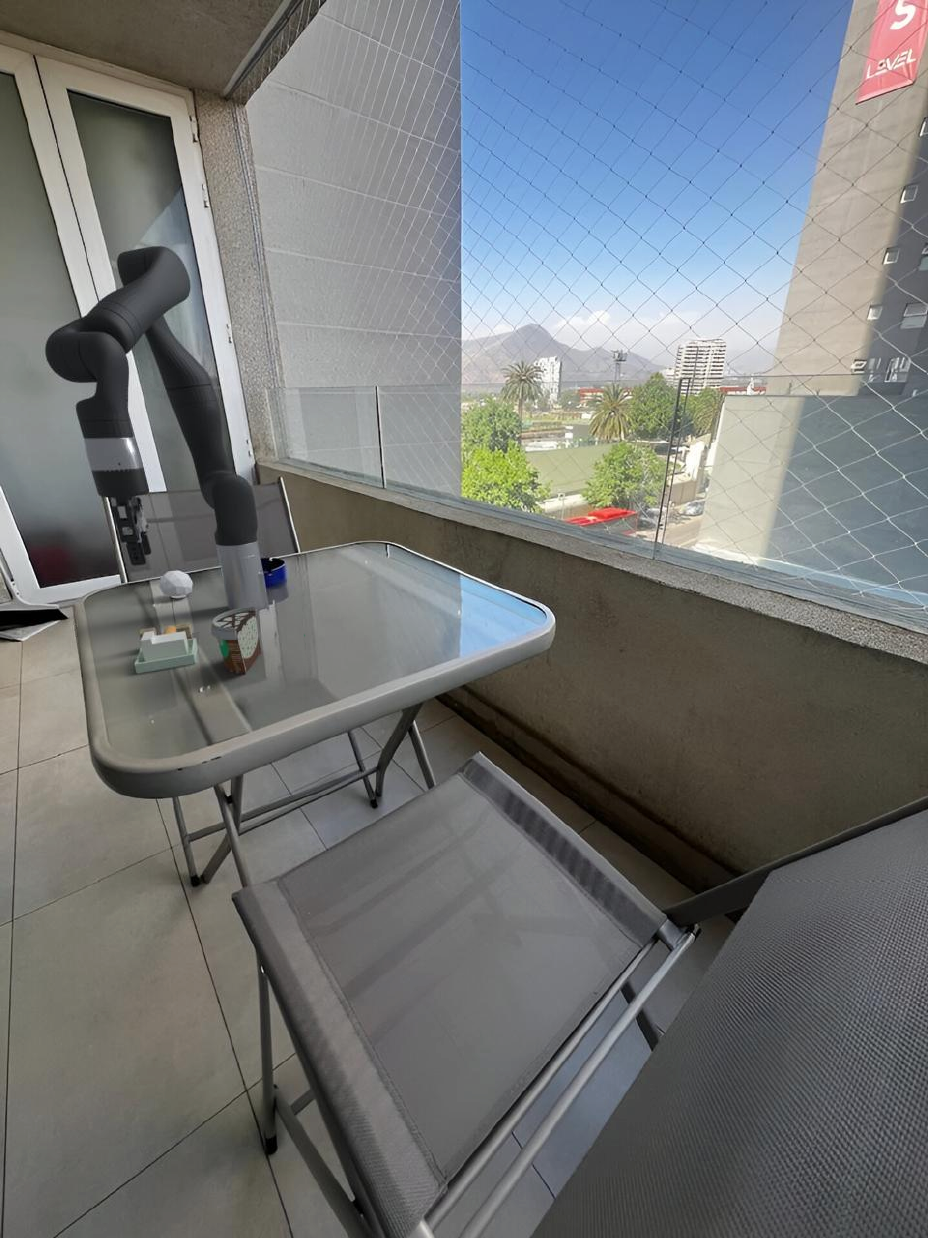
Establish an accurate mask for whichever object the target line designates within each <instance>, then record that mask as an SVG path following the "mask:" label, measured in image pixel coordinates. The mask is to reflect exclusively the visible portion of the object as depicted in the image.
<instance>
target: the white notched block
mask: <svg viewBox="0 0 928 1238" xmlns="http://www.w3.org/2000/svg"><path fill="white" fill-rule="evenodd" d="M140 643H141V645H140V649H141V648H142V652H143V655H144V659H145V662H148V661H154V660H159V659H165V658H171V657H177V656H183V655H189V645H188V641H187V637H186V633H185V631H183V632H176V633H170V634H164V633H163V634H157V636H155V634H154V631H151V632H144V634H143V637H142V639H140Z"/></svg>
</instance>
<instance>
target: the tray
mask: <svg viewBox="0 0 928 1238" xmlns="http://www.w3.org/2000/svg"><path fill="white" fill-rule="evenodd" d="M187 641H188V645H189V655H183V656H177V657H171V658H165V659H159V660H154V661H148V662H145V659H144V655H143V652H142V648H141V647H140V650H139V652H138V655H137V657H136V660H135V662H134V668H135V671H136V675H140V674H139V673H142V674H146V673H145V672H147V673H152V672H151V671H153V672H157V671H156V670H159V671H163V670H162V669H164V670H168V669H167V668H170V669H174V668H173V667H176V668H180V667H179V666H181V667H185V666H184V665H187V666H191V665H190V664H193V665H196V663H197V657H196V656H198V649H199V645H198V646H197V641H196V638H194V639H188V640H187ZM197 648H198V649H197Z"/></svg>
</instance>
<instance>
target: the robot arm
mask: <svg viewBox="0 0 928 1238" xmlns="http://www.w3.org/2000/svg"><path fill="white" fill-rule="evenodd" d="M116 259H117V260H116V267H117V272H118V275H119V279H120V282H121V284H122V287H120V288H118V289H115V290H113V291H112V292H110V293H109V294H107V295H105V296H104V297H102V298H101V299H100V300H99V301H98V302H97V303H96V304H95V305H94V306H93V307H92V308H91V309H90V310H89V311H88V312H87V314H86V315H85V316H81V317H79V318H77V319H74V320H73V321H71V322H68V323H67V324H65V325H62V326H60V327H59V328H58V329H55V330H54V331H53V332H52V333H51V334H50V335H49V337H48V338H47V340H46V342H45V349H44V350H45V351H44V352H45V353H44V354H45V359H46V361H47V363H48V365H49V367H50V368H51V369H52V371H53V372H54V373H55V374H56V375H57V376H59V377H60V378H62V379H63V380H65V381H67V382H72V383H77V384H86V383H87V384H88V383H89V384H90V383H91V384H93V383H96V387H95V392H94V394H93V395H92V396H91V397H87V398H85V399H82V400H79V401H78V402H77V403H76V404H75V412H76V416H77V420H78V423H79V428H80V430H81V433H82V436H83V439H84V444H85V445H84V447H85V454H86V458H87V462H88V465H89V468H90V472H91V475H92V479H93V482H94V485H95V488H96V493H97V494H98V495H97V496H100V497H101V498H107V499H108V498H113V499H114V500H115V505H113V506H112V508H111V512H112V513H113V516H114V520H115V523H116V527H117V531H118V535H119V541H120V542H121V543H123V544H124V545H125V547H126V550H127V554H128V556H129V561H130V564H131V566H134V567H135V566H143V565H145V564H147V559H146V556H149V555H151V554H152V548H151V544H150V540H149V537H148V533H149V530H148V529H149V525H148V522H147V518H146V515H145V509H144V505H143V503H142V498H140V497H139V496H144V495H147V494H149V493H150V487H149V484H148V480H147V475H146V471H145V467H144V465H143V464H144V463H143V460H142V459H143V458H142V455H141V452H140V449H139V446H138V444H137V442H136V441H137V440H136V438H135V435H134V432H133V431H134V430H133V428H132V423H131V418H130V416H129V415H130V414H129V382H130V380H129V379H130V364H129V360H128V357H127V354H128V353H130V352H131V351H132V350H133V348H134V347H135V346H136V345H137V343H138V342H139V341H140V339H142V337H143V336H145V338H146V340H147V342H148V344H149V345H148V346H149V348H150V350H151V352H152V356H153V357H154V361H155V363H156V365H157V369H158V372H159V374H160V378H161V380H162V383H163V387H164V389H165V391H166V394H167V397H168V399H169V403H170V405H171V408H172V411H173V413H174V415H175V417H176V420H177V422H178V425H179V428H180V431H181V434H182V436H183V438H184V440H185V442H186V445H187V447H188V449H189V452H190V456H191V459H192V461H193V466H194V467H195V468H194V469H195V473H196V477H197V480H198V484H199V488H200V492H201V495H202V497H203V500H204V501H205V503H206V504H207V506H209V507H210V508H211V509H213V510H214V517H215V521H216V522H215V523H216V530H215V531H214V542H215V546H216V547H215V548H216V550H217V551H216V552H217V556H218V561H219V566H220V571H221V575H222V581H223V586H224V590H225V595H226V601H227V607H228V611H231V610H235V609H239V608H245V607H256V609H257V612H258V611H259V612H260V611H262V610H264V609H266V610H270V606H269V605H270V604H269V599H268V594H267V588H266V582H265V575H264V571H263V566H262V560H261V555H260V547H259V542H258V536H257V535H258V534H257V533H258V527H259V524H258V522H259V521H258V516H257V506H256V500H255V499H256V498H255V496H254V491H253V489H252V486H251V484H250V483H249V481H248V480H247V479H246V478H245V477H243V476H242V475H240V474H236V473H234V472H233V470H232V467H231V464H230V462H229V460H228V457H227V454H226V450H225V446H224V439H223V425H222V423H223V422H222V413H221V408H220V403H219V400H218V397H217V395H216V391H215V388H214V385H213V382H212V380H211V377H210V375H209V373H208V372H207V371H206V369H205V368H204V366H202V364H200V362H199V361H198V360H197V359H196V358H195V357H194V356H193V354H191V353H190V352H189V351H188V350H187V349H186V348H185V347H184V345H182V343H181V342H179V340H178V339H177V338H176V336H175V335H174V333H173V332H172V330H171V328H170V326H169V324H168V322H167V320H166V318H165V314H166V313H167V312H169V311H171V309H173V308H174V307H175V306H178V305H179V304H181V303H183V302H184V301H186V300H187V299H188V297H189V296H190V293H191V288H192V287H191V279H190V276H189V273H188V272H189V271H188V270H187V267H186V266H185V264H184V263H183V260H182V259H181V258H180V257H179V255H178V254H177V253H176V252H175V251H174V250H173V249H171V248H169V247H166V246H163V245H154V246H149V247H147V246H146V247H142V248H136V249H130V250H126V251H122V252H120V253H119V254H118V255H117V258H116ZM137 496H138V497H137Z"/></svg>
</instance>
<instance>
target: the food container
mask: <svg viewBox="0 0 928 1238" xmlns="http://www.w3.org/2000/svg"><path fill="white" fill-rule="evenodd" d="M258 616H259V614H258V611H257V609H256V607H245V608H239V609H235V610H231V611H229V610H228V611H225V612H223V613H220V614H218V615H216V616H215V617H214V618H213V619H212V623H211V627H210V628H211V630H210V631H211V633H210V634H211V636H212V637H214V638H216V639H217V643H218V647H219V650H220V653H221V656H222V659H223V662H224V666H225V668H226V671H228V672H229V673H232V674H236V675H246V674H247V673H248V672H249V671H250V669H251V668H252V666H253V665H254V663H255V662H256V661H257V659H258V658H259V657H260V655H261V654H262V653H263V649H262V643H261V641H262V640H261V636H260V628H259V620H258Z"/></svg>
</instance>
